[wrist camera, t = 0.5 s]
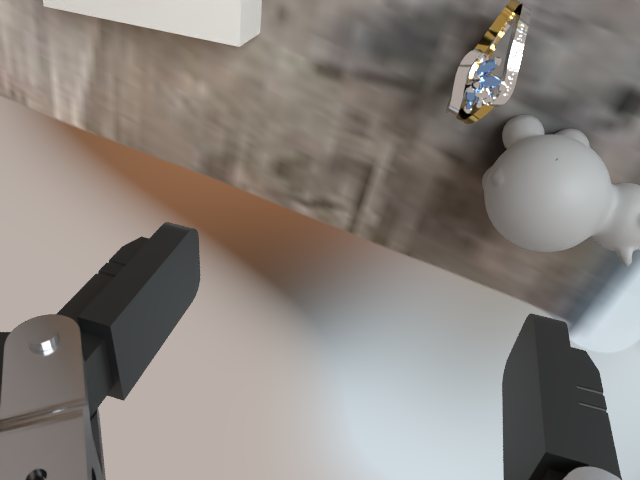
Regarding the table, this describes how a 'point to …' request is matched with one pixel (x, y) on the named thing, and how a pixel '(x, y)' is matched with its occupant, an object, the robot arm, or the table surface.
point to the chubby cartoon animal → (558, 193)
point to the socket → (178, 16)
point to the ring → (490, 67)
